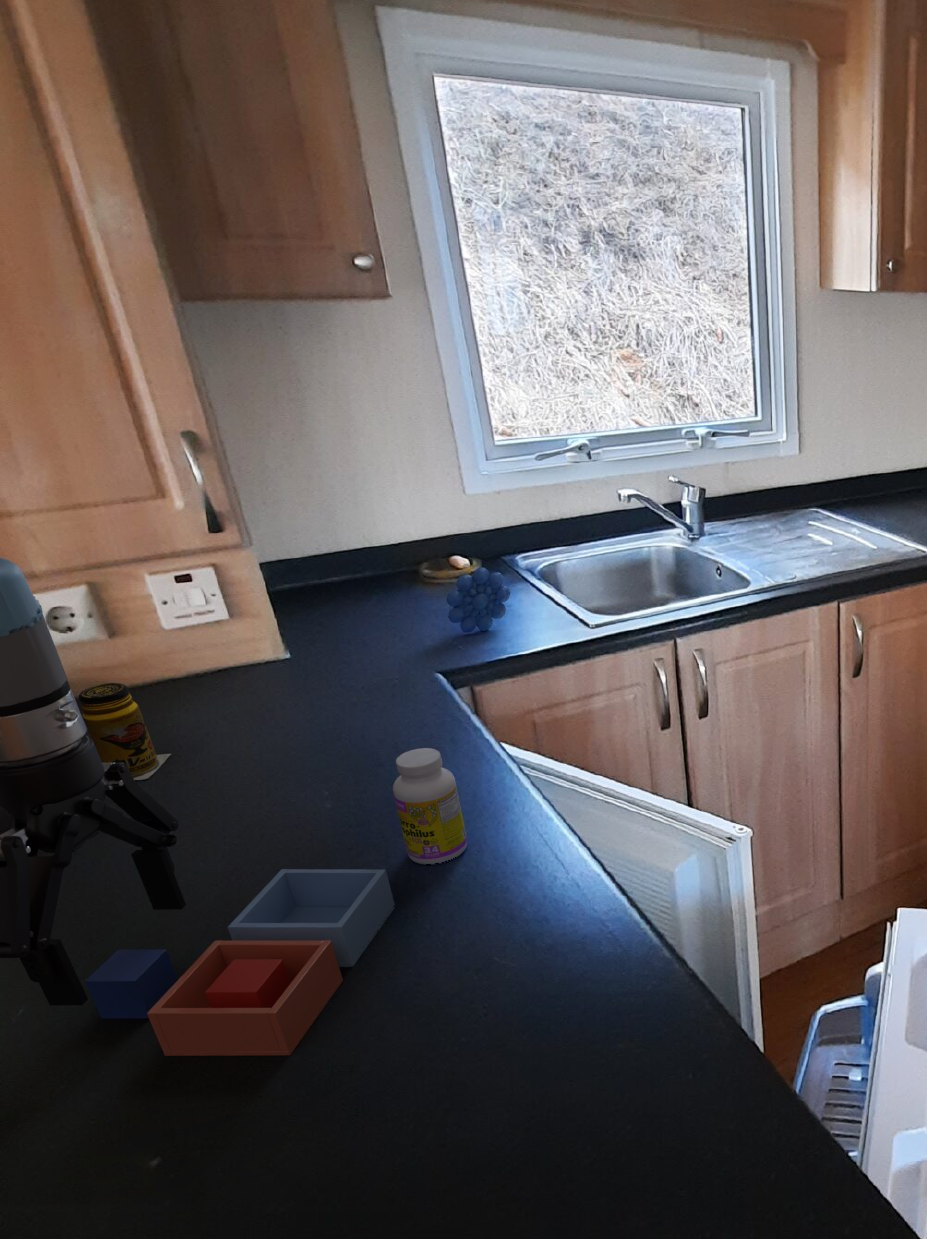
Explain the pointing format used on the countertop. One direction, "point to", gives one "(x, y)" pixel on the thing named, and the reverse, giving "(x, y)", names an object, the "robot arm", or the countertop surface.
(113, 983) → the blue block
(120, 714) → the condiment
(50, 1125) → the countertop surface
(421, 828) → the supplement bottle
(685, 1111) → the countertop surface
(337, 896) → the blue bin
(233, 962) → the red block
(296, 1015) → the red bin
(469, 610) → the blue sphere cluster
